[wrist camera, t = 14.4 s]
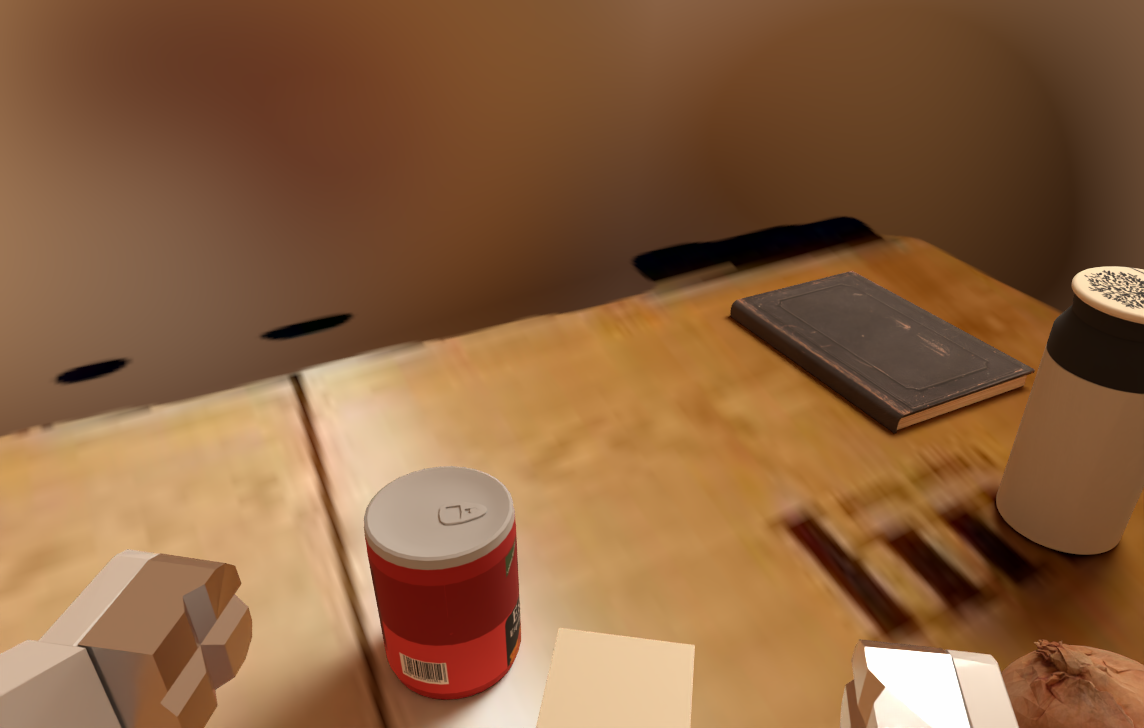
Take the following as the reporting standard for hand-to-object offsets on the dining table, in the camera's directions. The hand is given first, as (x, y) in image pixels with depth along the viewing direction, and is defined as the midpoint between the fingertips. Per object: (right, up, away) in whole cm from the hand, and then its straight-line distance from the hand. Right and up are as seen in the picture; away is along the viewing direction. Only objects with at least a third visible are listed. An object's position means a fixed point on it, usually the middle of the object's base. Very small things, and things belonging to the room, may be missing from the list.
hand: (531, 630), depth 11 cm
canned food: (-6, -14, +39) cm, 42 cm away
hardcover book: (+29, +4, +70) cm, 76 cm away
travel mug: (+35, -8, +49) cm, 61 cm away
